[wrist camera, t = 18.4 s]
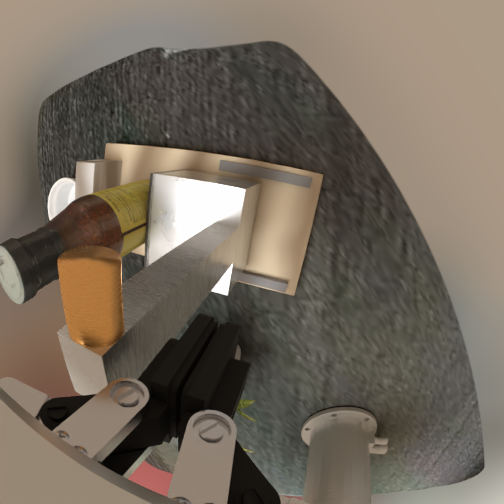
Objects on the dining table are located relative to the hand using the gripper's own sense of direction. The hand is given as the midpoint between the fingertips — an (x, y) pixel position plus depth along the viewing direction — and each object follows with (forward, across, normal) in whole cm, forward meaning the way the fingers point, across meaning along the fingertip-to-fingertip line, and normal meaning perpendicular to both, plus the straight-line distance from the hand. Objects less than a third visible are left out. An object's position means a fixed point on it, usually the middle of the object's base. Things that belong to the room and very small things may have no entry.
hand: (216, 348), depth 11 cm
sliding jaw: (+19, +7, 0) cm, 20 cm away
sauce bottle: (+19, +14, 0) cm, 24 cm away
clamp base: (+21, +10, 0) cm, 23 cm away
